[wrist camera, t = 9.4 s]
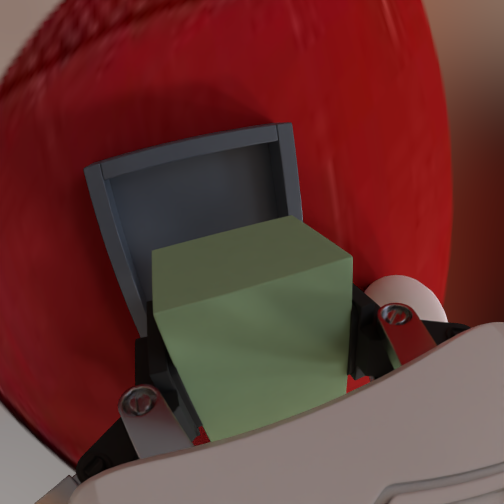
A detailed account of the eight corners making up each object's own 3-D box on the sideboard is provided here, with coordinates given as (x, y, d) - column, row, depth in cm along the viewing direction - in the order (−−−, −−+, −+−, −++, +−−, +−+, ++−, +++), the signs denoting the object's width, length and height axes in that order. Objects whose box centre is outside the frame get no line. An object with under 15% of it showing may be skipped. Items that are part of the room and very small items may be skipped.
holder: (181, 405, 21) (186, 426, 19) (92, 163, 13) (82, 168, 12) (301, 367, 23) (313, 385, 21) (275, 122, 15) (292, 122, 14)
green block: (196, 378, 13) (215, 450, 10) (151, 250, 10) (152, 314, 7) (303, 344, 14) (345, 403, 11) (292, 214, 11) (353, 256, 8)
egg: (401, 298, 24) (465, 348, 17) (350, 334, 23) (409, 398, 16) (391, 247, 21) (470, 294, 14) (334, 286, 21) (406, 352, 14)
